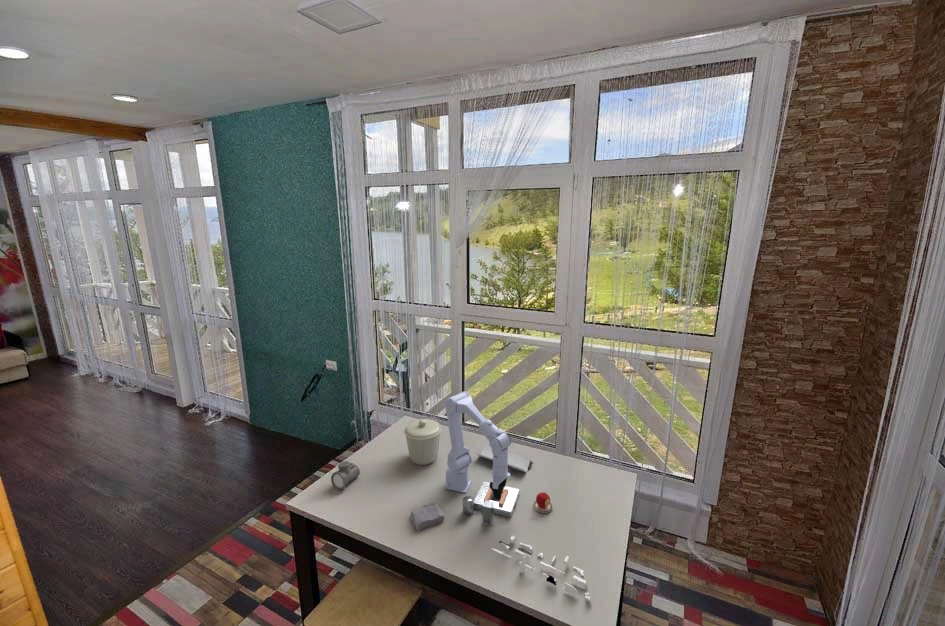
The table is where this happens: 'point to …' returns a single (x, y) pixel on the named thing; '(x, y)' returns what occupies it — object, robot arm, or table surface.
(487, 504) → the grey rectangular box
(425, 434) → the canister
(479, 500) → the silver base plate
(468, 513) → the stub post
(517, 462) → the z bracket
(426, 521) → the stone block
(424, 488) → the table surface
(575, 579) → the miniature set
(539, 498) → the red apple on plate
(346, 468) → the pipe fitting
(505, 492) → the bracket
